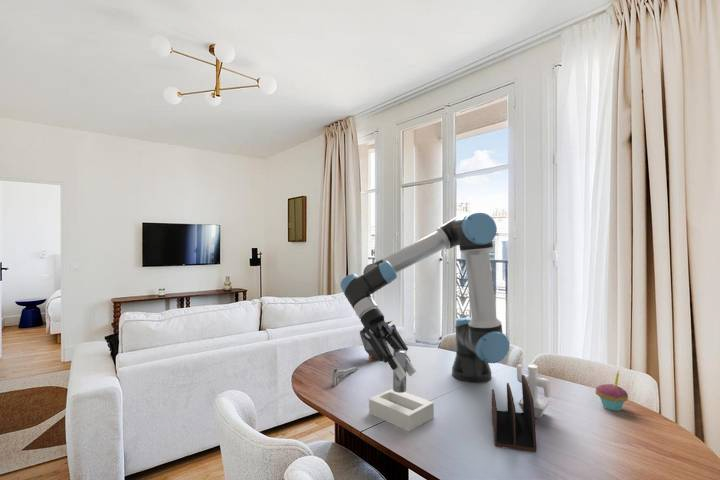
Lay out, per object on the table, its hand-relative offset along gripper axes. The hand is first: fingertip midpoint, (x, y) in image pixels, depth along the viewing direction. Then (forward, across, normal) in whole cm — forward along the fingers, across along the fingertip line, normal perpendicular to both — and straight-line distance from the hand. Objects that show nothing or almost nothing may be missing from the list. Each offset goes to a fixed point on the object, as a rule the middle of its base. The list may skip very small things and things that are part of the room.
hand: (408, 375), depth 109 cm
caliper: (-18, -10, -38) cm, 43 cm away
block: (+7, 0, -12) cm, 14 cm away
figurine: (+27, -30, +9) cm, 41 cm away
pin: (+1, 0, -6) cm, 6 cm away
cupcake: (+38, -52, +20) cm, 67 cm away
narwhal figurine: (-24, -35, -43) cm, 60 cm away
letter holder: (+27, -16, +8) cm, 32 cm away
